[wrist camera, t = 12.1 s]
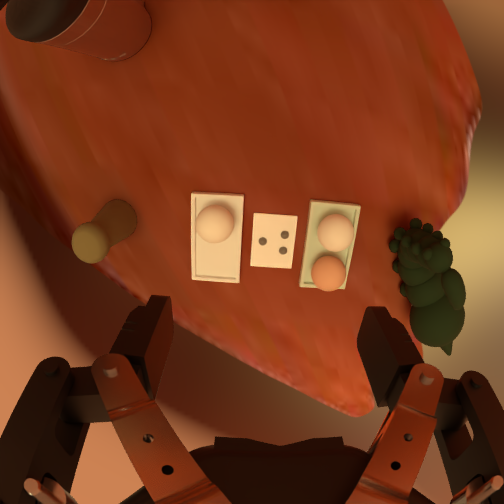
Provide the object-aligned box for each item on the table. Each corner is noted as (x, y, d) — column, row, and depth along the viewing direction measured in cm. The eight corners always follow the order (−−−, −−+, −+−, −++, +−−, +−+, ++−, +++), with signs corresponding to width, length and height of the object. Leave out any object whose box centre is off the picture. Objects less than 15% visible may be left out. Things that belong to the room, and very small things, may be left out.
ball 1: (199, 199, 42) (192, 210, 38) (236, 201, 42) (233, 212, 38) (199, 234, 44) (192, 248, 40) (234, 236, 44) (231, 250, 40)
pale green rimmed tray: (310, 199, 43) (311, 201, 41) (358, 204, 43) (360, 206, 41) (298, 282, 48) (299, 286, 47) (342, 285, 48) (344, 289, 47)
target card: (254, 212, 44) (253, 214, 43) (297, 215, 44) (298, 217, 43) (250, 264, 47) (250, 267, 46) (290, 266, 47) (291, 270, 46)
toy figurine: (363, 226, 46) (410, 341, 52) (412, 277, 28) (449, 412, 34) (414, 198, 44) (452, 317, 50) (483, 233, 26) (500, 379, 32)
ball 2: (316, 207, 42) (323, 219, 38) (351, 211, 43) (361, 222, 38) (312, 241, 45) (318, 256, 40) (345, 244, 45) (354, 259, 40)
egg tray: (192, 191, 42) (191, 193, 41) (244, 194, 42) (243, 196, 41) (193, 275, 48) (192, 279, 47) (239, 279, 48) (238, 283, 47)
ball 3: (311, 248, 45) (317, 264, 40) (344, 251, 45) (353, 266, 40) (306, 279, 47) (311, 297, 42) (338, 281, 47) (345, 298, 43)
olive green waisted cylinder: (138, 202, 43) (106, 229, 33) (135, 241, 46) (106, 275, 36) (102, 196, 43) (63, 220, 33) (101, 234, 45) (66, 265, 35)
